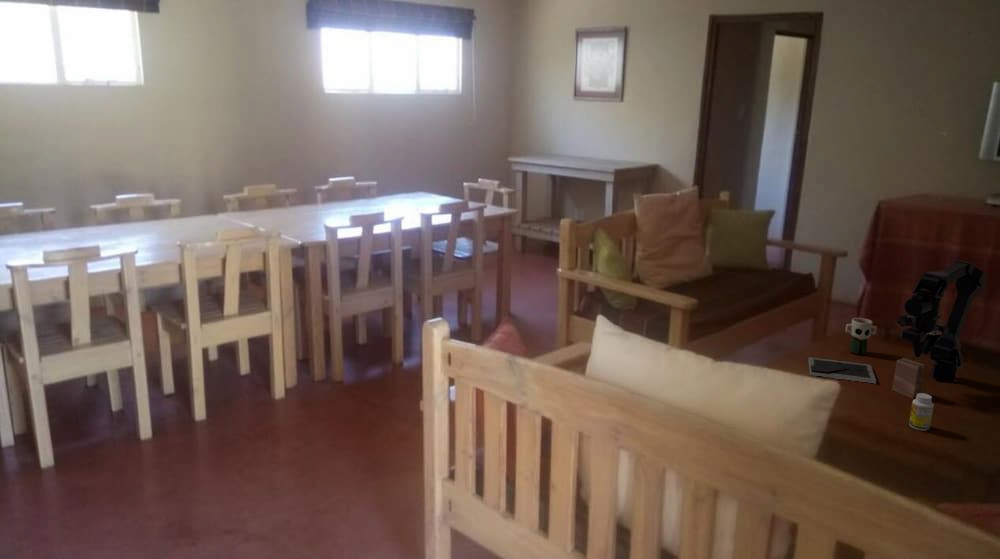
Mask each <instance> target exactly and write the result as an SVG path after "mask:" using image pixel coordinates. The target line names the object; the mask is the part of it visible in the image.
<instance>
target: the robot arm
mask: <svg viewBox="0 0 1000 559" xmlns="http://www.w3.org/2000/svg"><path fill="white" fill-rule="evenodd" d="M953 282H955V286H954V287H955V288H956V293H957V294H956V296H955V299H954V301H953V304H952V308H951V310H950V313H949V316H948V319H947V322H946V323H942V322H938V320H939V319H941V317H942V316H941V314H940V308H941V302H942V298H944V297H945V295H944V294H945V292H946V291H947V290H948V289H949V285H950V284H951V283H953ZM987 282H988V278H987V276H986V274H985V273H984V272H983V271H982V270H980V268H977V267H976V266H975V264H973V263H972V262H968V261H963V260H957V261H955V263H953V264H951V265H949V266H948V267H945V268H943V269H942V270H941V269H940V270H939V271H927V272H924V273H923V274H922V275H921V276H920V277H919V279H918V281H917V283H916V285H915V287H914V289H913V290H912V293H913V294H912V297H911V298H909V299H908V300H907V301H905V303H904V310H905V313H907V314H908V315H906V314H904V315H902V314H901V315H898V317H897V321H896V324H898V325H899V326H900V328H905V327H910V328H907V329H906V328H905V329H903V331H901V335H900V337H901V338H902V339H904V340H905V339H906V340H909V341H911V343H912V345H913V352H914V356H915V358H920V357H921V355H922V354H923V355H926V356H927V355H928V354H929V355H930V356H929V357H930V360H931V361H934V363H932V364H931V370H930V373H929V374H930V376H931V377H932V378H933V380H935V381H936V382H943V383H944V382H946V383H948V382H949V383H957V379H956V374H957V368H958V367H959V368H960V367H961V366H962V365H963V363H964V357H963V354H962V353H961V348H962V345H961V340H960V335H961V332H962V329H963V327H964V324H965V321H966V318H967V316H968V312H969V311H970V307H971V305H972V302H973V299H974V298H975V297H976V296H978V295H979V294H980V293H982V292H983V289H984V287H985V286H986V284H987ZM939 332H941V334H939Z"/></svg>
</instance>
